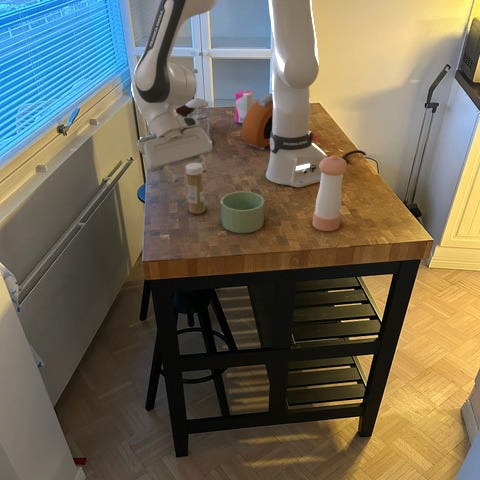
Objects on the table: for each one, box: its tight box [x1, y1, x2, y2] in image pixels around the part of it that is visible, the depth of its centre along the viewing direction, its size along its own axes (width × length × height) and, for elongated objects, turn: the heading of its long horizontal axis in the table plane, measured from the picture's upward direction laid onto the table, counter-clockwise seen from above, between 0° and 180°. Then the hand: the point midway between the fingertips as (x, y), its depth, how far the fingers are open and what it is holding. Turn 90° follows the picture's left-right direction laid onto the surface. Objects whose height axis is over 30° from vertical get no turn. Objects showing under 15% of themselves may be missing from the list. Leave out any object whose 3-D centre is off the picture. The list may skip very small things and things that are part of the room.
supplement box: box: [234, 90, 255, 125], centre depth 191 cm, size 6×6×12 cm
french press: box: [186, 68, 213, 145], centre depth 170 cm, size 10×12×25 cm
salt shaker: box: [312, 154, 348, 232], centre depth 123 cm, size 7×7×19 cm
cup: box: [220, 190, 265, 234], centre depth 129 cm, size 12×12×6 cm
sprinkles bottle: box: [185, 162, 206, 215], centre depth 132 cm, size 5×5×14 cm
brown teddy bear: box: [176, 96, 196, 117], centre depth 188 cm, size 11×11×15 cm
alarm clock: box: [241, 92, 273, 151], centre depth 172 cm, size 23×9×17 cm, turn 129°
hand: (190, 176), depth 131 cm, fingers open, 8 cm apart
